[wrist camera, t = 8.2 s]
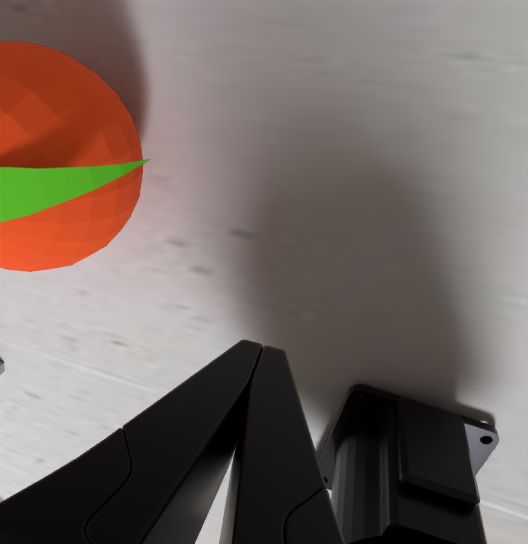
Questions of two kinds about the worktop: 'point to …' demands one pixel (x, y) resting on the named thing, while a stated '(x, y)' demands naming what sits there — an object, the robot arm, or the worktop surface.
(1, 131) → the clementine
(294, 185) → the worktop surface
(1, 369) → the tray
